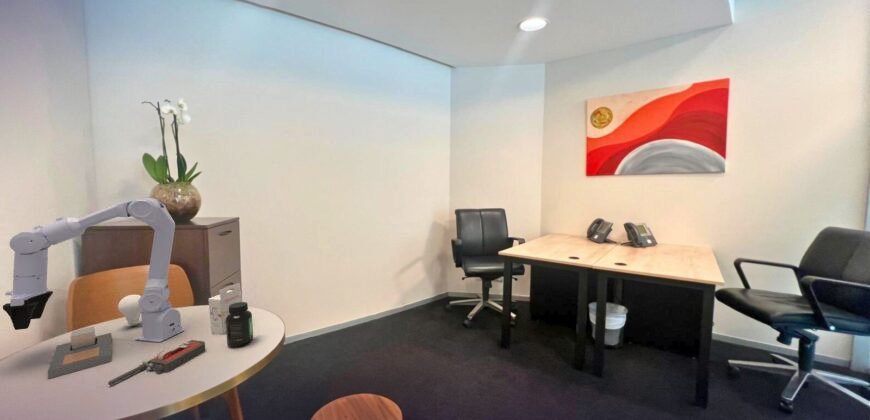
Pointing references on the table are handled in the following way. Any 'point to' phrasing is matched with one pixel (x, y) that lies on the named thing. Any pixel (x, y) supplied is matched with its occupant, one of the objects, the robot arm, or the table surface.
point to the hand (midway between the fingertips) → (28, 323)
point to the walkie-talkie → (168, 359)
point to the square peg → (83, 338)
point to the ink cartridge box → (223, 307)
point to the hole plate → (80, 356)
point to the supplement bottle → (239, 325)
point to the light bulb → (130, 309)
